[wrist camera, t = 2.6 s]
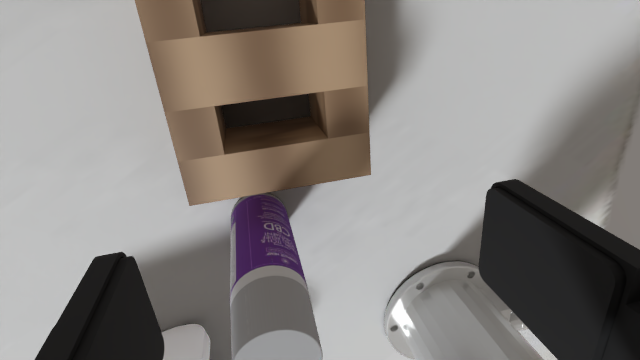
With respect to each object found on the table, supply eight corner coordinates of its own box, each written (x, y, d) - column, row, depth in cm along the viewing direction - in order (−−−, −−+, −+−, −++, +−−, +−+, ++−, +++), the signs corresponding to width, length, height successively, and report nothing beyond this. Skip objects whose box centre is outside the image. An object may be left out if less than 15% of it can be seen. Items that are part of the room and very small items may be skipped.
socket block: (329, -125, 23) (358, -167, 18) (346, 147, 31) (370, 174, 26) (127, -116, 22) (91, -160, 16) (197, 170, 29) (189, 205, 24)
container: (286, 190, 31) (326, 321, 18) (287, 238, 33) (324, 389, 20) (228, 193, 30) (225, 335, 17) (232, 243, 32) (232, 406, 19)
